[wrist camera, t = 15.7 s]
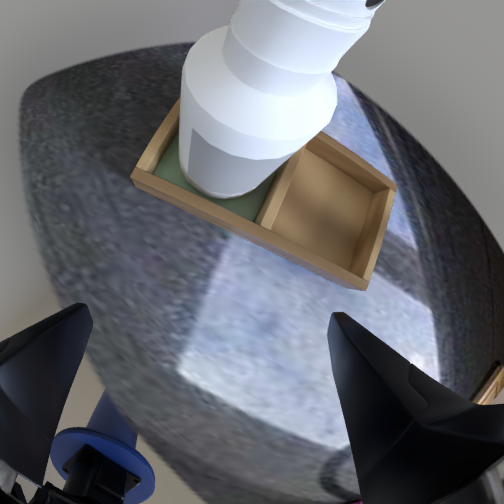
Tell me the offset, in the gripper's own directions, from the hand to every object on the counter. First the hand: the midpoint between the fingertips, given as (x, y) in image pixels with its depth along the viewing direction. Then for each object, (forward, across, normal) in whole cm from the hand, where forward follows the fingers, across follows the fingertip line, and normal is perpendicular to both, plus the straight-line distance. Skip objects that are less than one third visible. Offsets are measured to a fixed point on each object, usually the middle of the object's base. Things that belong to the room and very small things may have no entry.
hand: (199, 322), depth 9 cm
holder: (+15, -3, -2) cm, 15 cm away
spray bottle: (+14, +1, -4) cm, 15 cm away
